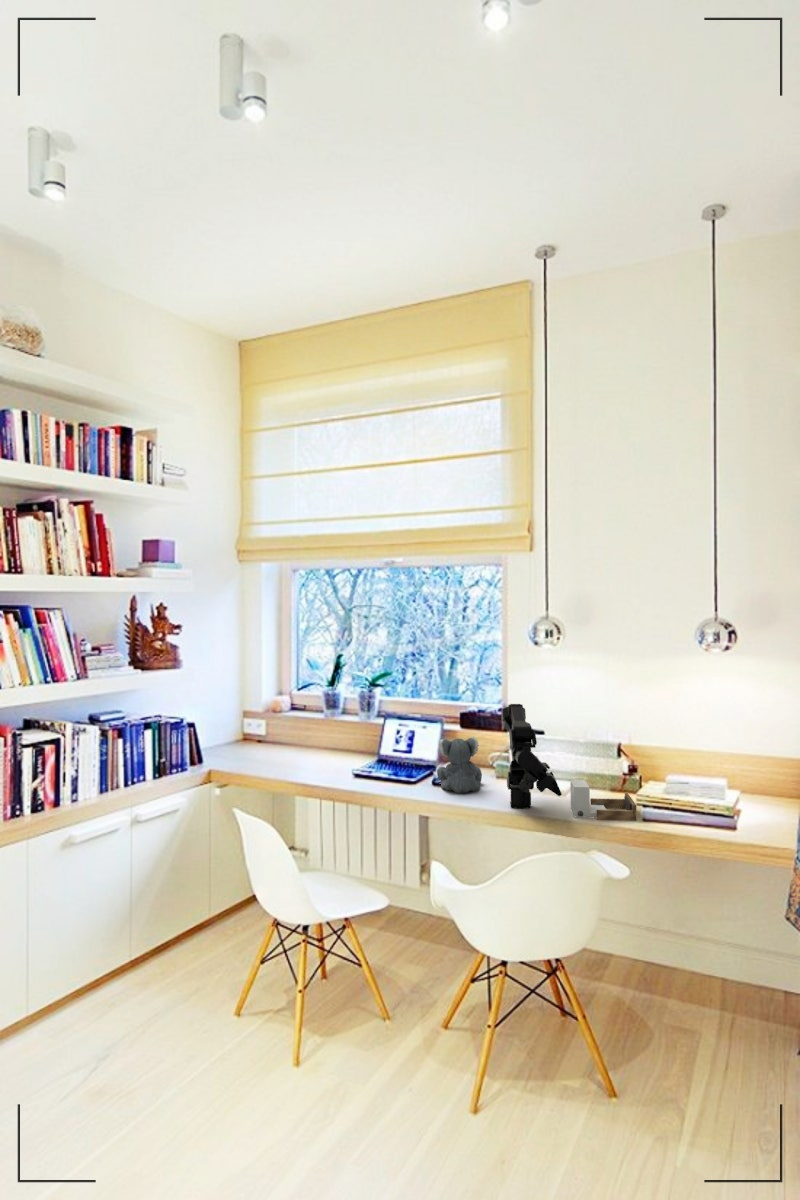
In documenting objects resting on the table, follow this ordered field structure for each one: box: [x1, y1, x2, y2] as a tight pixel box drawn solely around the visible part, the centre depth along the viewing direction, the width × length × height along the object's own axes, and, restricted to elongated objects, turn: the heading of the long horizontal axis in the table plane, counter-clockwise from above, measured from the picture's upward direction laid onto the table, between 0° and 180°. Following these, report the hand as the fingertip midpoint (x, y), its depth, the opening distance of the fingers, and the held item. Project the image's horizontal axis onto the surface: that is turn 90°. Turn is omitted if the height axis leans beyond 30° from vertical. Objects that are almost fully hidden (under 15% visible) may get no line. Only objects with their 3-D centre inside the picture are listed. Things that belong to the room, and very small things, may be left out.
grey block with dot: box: [569, 779, 607, 819], centre depth 253 cm, size 11×10×10 cm
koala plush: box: [436, 736, 483, 794], centre depth 287 cm, size 17×18×20 cm
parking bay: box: [590, 792, 637, 821], centre depth 253 cm, size 12×14×5 cm
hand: (560, 795), depth 254 cm, fingers closed
